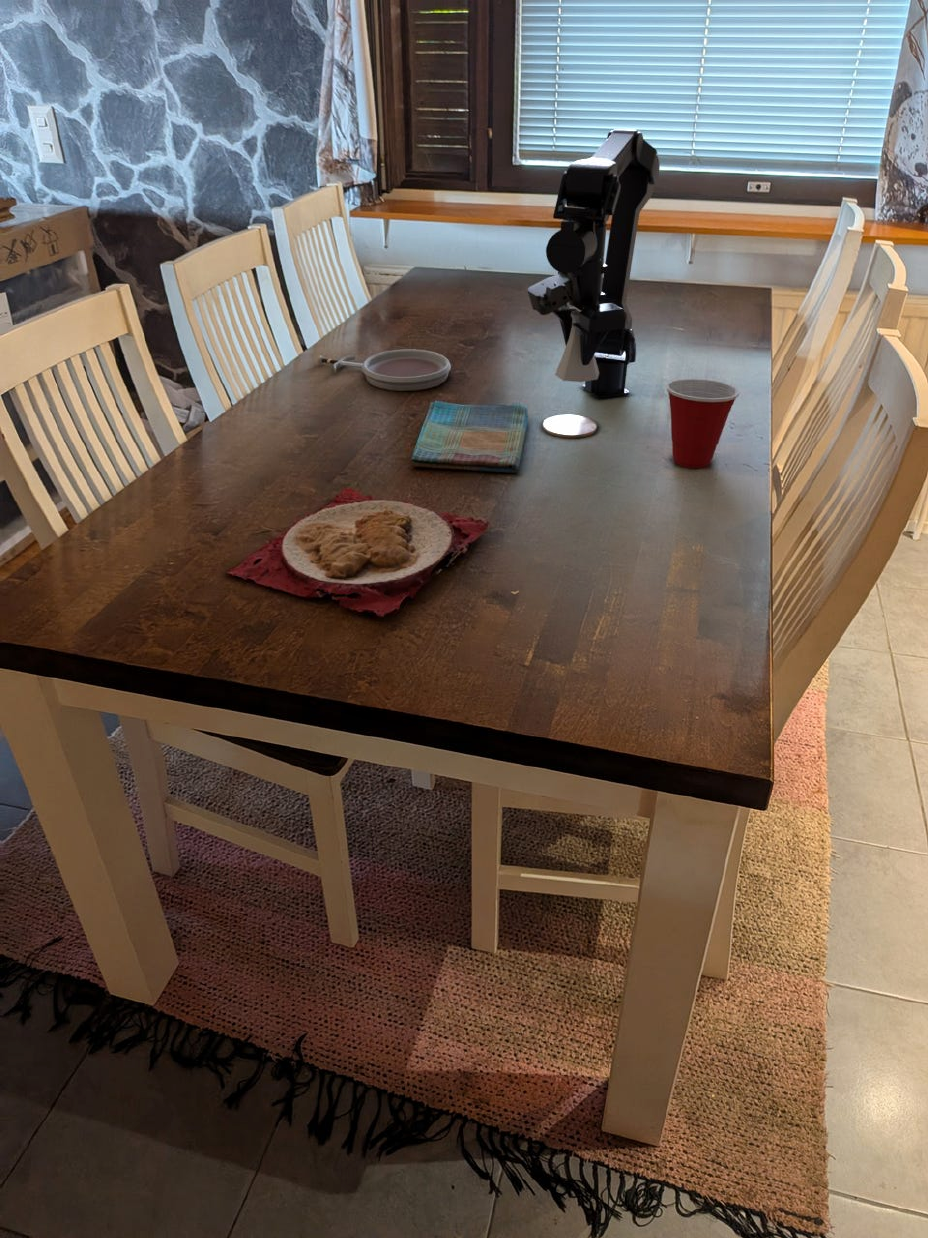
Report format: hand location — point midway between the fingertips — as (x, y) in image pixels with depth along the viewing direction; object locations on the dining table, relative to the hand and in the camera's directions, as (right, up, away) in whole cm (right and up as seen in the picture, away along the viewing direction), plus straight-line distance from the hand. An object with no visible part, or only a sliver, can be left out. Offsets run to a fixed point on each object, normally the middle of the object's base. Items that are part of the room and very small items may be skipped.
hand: (577, 359), depth 145 cm
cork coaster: (0, -9, +8) cm, 12 cm away
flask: (0, -2, +2) cm, 3 cm away
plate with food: (-31, -33, -26) cm, 53 cm away
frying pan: (-34, +6, +31) cm, 46 cm away
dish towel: (-17, -13, +3) cm, 21 cm away
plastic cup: (+17, -17, -3) cm, 24 cm away
